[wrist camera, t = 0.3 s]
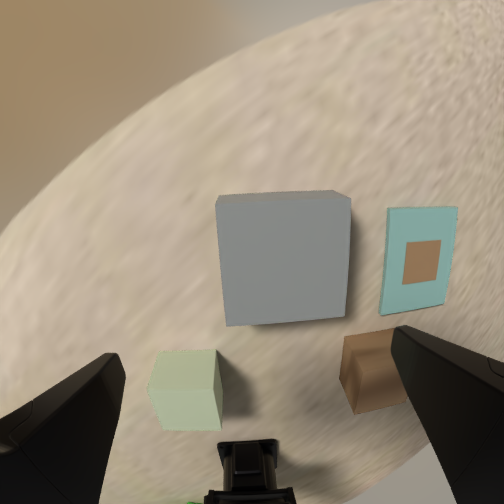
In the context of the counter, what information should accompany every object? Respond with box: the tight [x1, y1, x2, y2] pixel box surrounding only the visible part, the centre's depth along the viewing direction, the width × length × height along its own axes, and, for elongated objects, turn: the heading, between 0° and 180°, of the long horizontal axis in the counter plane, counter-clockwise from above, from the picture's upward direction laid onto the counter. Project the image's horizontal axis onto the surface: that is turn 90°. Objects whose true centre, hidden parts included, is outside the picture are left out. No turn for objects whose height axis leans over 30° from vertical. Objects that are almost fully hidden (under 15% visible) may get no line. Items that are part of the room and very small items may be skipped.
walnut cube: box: [339, 328, 408, 415], centre depth 24 cm, size 5×5×5 cm
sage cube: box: [147, 349, 223, 431], centre depth 23 cm, size 5×5×5 cm
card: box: [379, 207, 458, 315], centre depth 23 cm, size 9×7×1 cm
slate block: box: [215, 190, 351, 326], centre depth 21 cm, size 8×8×4 cm
